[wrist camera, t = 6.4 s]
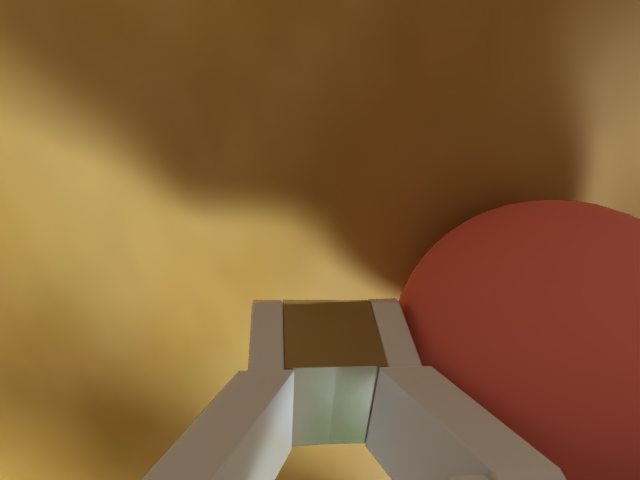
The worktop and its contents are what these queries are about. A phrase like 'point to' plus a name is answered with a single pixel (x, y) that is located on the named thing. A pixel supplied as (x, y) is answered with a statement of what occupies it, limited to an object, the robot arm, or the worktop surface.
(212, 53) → the worktop surface
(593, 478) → the ball
